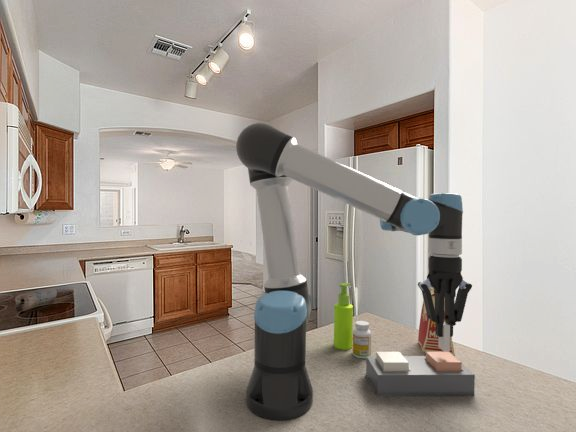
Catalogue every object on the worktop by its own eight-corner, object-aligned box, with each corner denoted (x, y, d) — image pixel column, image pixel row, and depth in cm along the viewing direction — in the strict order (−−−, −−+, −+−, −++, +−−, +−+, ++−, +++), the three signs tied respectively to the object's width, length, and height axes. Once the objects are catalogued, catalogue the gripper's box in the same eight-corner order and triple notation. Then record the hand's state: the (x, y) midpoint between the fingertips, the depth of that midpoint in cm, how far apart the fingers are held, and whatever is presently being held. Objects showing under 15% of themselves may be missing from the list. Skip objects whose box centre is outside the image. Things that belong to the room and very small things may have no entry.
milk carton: (454, 355, 98) (456, 289, 98) (422, 352, 100) (423, 288, 100) (446, 343, 107) (447, 283, 107) (417, 341, 109) (418, 281, 108)
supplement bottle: (359, 349, 101) (359, 318, 101) (374, 355, 97) (374, 323, 97) (349, 354, 97) (349, 322, 97) (364, 360, 94) (365, 327, 94)
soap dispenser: (356, 343, 106) (357, 282, 105) (348, 351, 100) (349, 286, 100) (339, 339, 109) (340, 280, 109) (330, 346, 103) (331, 284, 103)
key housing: (377, 396, 75) (378, 375, 75) (366, 374, 85) (366, 356, 85) (474, 395, 76) (474, 374, 76) (451, 374, 86) (451, 355, 86)
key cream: (383, 379, 77) (384, 362, 77) (376, 367, 83) (376, 351, 83) (408, 379, 78) (408, 362, 78) (398, 367, 84) (399, 351, 84)
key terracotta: (437, 378, 78) (437, 362, 78) (425, 366, 84) (425, 351, 84) (461, 378, 78) (461, 362, 78) (448, 366, 84) (448, 351, 84)
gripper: (426, 257, 77) (425, 356, 77) (479, 257, 77) (478, 355, 77) (412, 253, 84) (412, 343, 84) (461, 253, 85) (461, 342, 85)
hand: (444, 349), depth 81 cm, fingers closed
